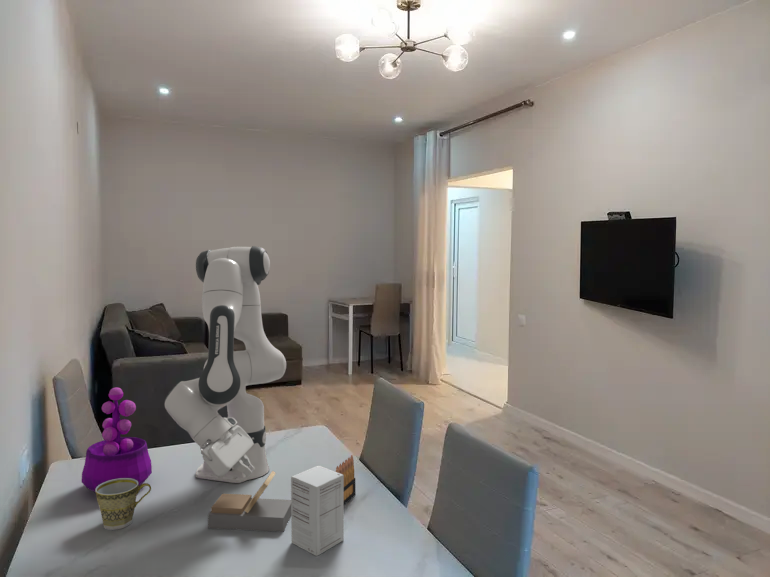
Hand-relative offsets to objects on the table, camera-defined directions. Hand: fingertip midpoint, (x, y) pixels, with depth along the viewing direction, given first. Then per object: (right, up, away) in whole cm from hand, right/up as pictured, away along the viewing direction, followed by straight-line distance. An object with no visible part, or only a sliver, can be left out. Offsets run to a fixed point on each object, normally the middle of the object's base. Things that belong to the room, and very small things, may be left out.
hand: (251, 472), depth 143 cm
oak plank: (+3, -5, +1) cm, 6 cm away
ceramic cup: (-33, -13, 0) cm, 35 cm away
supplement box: (+18, -14, -9) cm, 25 cm away
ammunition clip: (+23, -13, +13) cm, 30 cm away
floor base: (0, -13, +2) cm, 13 cm away
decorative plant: (-45, -11, +20) cm, 50 cm away
